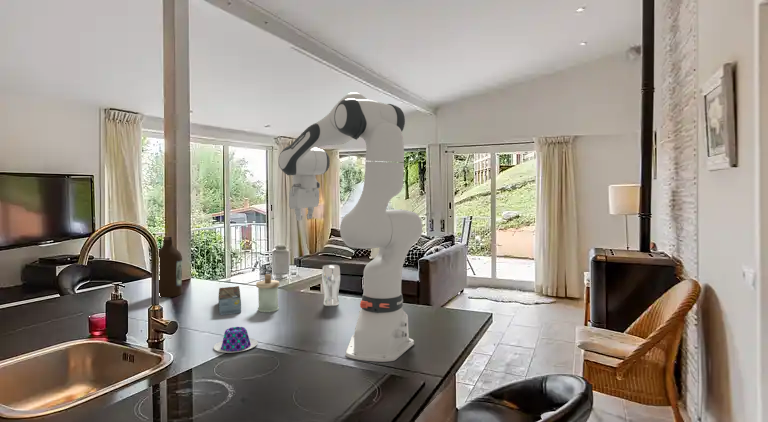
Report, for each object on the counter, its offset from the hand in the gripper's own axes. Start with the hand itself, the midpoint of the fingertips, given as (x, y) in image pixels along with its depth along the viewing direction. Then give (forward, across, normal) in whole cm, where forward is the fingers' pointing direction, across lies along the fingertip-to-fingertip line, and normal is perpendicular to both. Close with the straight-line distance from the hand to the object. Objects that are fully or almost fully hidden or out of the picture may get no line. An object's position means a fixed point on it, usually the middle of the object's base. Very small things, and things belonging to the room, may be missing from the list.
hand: (304, 219), depth 172 cm
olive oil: (+33, -1, +62) cm, 70 cm away
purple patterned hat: (+34, -48, 0) cm, 59 cm away
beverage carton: (+34, -12, +26) cm, 44 cm away
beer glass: (+33, +2, -10) cm, 35 cm away
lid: (+24, -11, +10) cm, 28 cm away
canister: (+33, -11, +10) cm, 36 cm away
